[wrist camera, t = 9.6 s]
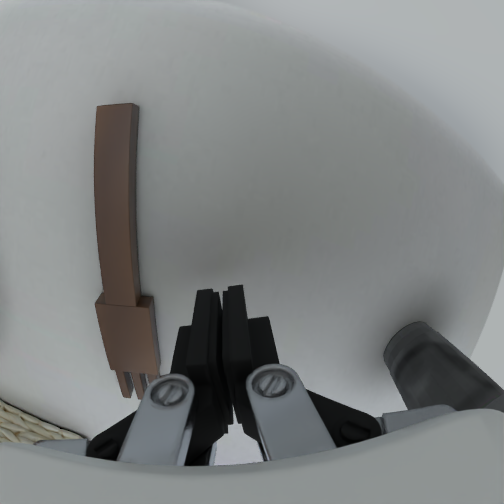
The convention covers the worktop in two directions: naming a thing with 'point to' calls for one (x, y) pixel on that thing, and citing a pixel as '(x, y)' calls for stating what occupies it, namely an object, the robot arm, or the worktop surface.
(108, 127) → the salad fork
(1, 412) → the basket
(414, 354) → the beverage cup
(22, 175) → the worktop surface
